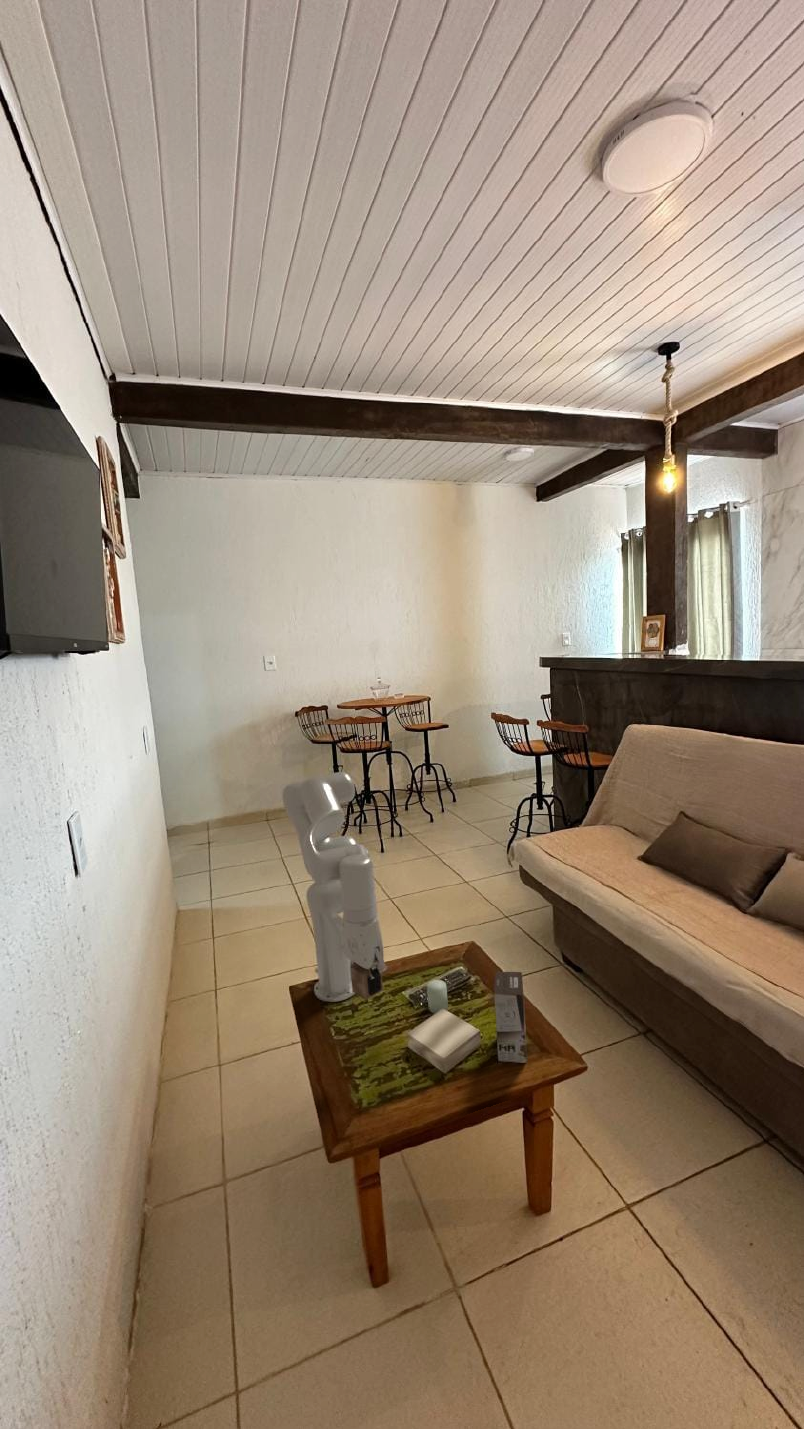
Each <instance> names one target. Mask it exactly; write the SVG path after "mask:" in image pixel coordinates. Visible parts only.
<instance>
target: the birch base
mask: <svg viewBox="0 0 804 1429" xmlns="http://www.w3.org/2000/svg"><path fill="white" fill-rule="evenodd" d="M406 1034H407V1046H408V1048H409V1049H410V1050H411V1051H412V1052H414V1053H416V1054H418V1056H420V1057H422V1058H423V1059H424V1060H426V1062H429V1063H430V1064H431V1065H432V1066H434V1067H435V1068H436V1069H438V1070H439V1071H441V1072H442V1073H444V1074H447V1073H448V1072H449V1071H450V1070H452V1069H453V1068H454V1067H455V1066H457V1065H458V1064H460V1062H462V1061H463V1060H465V1058H467V1057H469V1055H471V1054H472V1053H473V1052H474V1051H476V1049H478V1048H479V1047H481V1046H482V1038H481V1030H480V1029H478V1028H476V1027H475V1026H473V1025H472V1024H470V1023H468V1022H467V1021H465V1020H463V1019H461V1018H460V1017H458V1016H457V1015H455V1014H453V1013H452V1012H450V1011H448V1009H447V1010H445V1009H441V1010H440V1011H439V1012H437V1013H436V1014H435V1013H433V1015H431V1016H430V1017H428V1018H427V1019H425V1020H424V1021H423V1022H421V1023H420V1024H419V1025H417V1026H415V1027H414V1028H413V1029H411V1030H410V1031H408V1032H407V1033H406Z"/></svg>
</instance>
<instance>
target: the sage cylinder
mask: <svg viewBox="0 0 804 1429" xmlns="http://www.w3.org/2000/svg"><path fill="white" fill-rule="evenodd" d="M426 992H427V994H426V995H427V1003H428V1004H427V1005H428V1010H429V1012H431V1013H433V1014H436V1013H437V1012H439V1011H440V1010H441V1009H445V1010H447V1011H448V1008H449V1005H448V1004H449V1003H448V991H447V983H446V982H445V981H443V980H440V979H433V980H431V981H429V982H428V983H427V984H426Z"/></svg>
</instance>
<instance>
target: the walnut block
mask: <svg viewBox="0 0 804 1429" xmlns="http://www.w3.org/2000/svg"><path fill="white" fill-rule="evenodd" d="M375 969H376V967H375V965H374V966H372V971H374V970H375ZM350 972H351V982H352V991H353V992H354V993H355V994H356V995H357V996H359V997H360V998H361V999H363V1000H364V1001H367V1000H369V999H371V998H373V997H374V996H376V995H377V994H379V993H380V992H382V991H384V984H383V976H382V975H383V974H381V975H380V978H381V990H380V991H379V992H377V993H375V994H373V995H372V996H371V995H369V990H368V980H367V978H369V975H368V971H367V969H365V968H363V967H361V966H360V965H358V964H354V965H352V966H350Z"/></svg>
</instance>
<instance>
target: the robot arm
mask: <svg viewBox="0 0 804 1429" xmlns="http://www.w3.org/2000/svg"><path fill="white" fill-rule="evenodd" d="M281 794H282V796H281V797H282V803H283V806H284V809H285V812H286V815H287V816H288V818H289V820H290V822H291V823H292V825H293V827H294V829H295V831H296V833H297V837H298V842H299V847H300V850H301V856H302V860H303V864H304V867H305V870H306V872H307V874H308V875H310V877H311V879H312V880H313V882H314V883H312V884H311V885H309V887H308V888H307V889H306V894H305V895H306V902H307V903H306V904H307V906H308V910H309V913H310V919H311V922H312V923H311V924H312V927H313V928H312V931H313V937H314V947H315V955H316V956H315V957H316V966H317V967H315V969H314V973H316V974H317V976H318V980H319V981H318V980H317V981H318V982H317V981H316V983H315V985H314V988H313V990H314V991H313V992H314V995H315V996H316V998H318V999H319V1000H321V1001H323V1002H327V1003H336V1002H340V1001H345V1000H347V999H349V998H351V997H353V996H354V995H355V994H356V993H354V992H353V991H352V982H351V972H350V966H352V965H354V964H358V965H360V966H361V967H363V968H365V969H367V971H368V975H369V978H367V980H368V990H369V995H371V996H372V995H373V994H375V993H377V992H379V991H380V990H381V978H380V975H381V974H382V973H383V972H384V971H386V970H387V969H388V966H387V964H386V962H385V960H384V956H385V954H384V945H383V944H384V943H383V938H382V931H381V927H380V922H379V918H378V907H377V906H378V904H377V897H376V896H377V895H376V894H377V893H376V886H375V873H374V865H373V860H372V858H370V853H369V850H368V849H367V848H366V847H365V846H364V845H363V844H361V843H358V842H357V841H356V839H355V838H354V837H352V836H351V835H341V836H336V837H331V836H332V835H333V834H335V833H337V832H338V831H339V830H341V828H342V826H343V825H344V822H345V819H346V818H345V813H344V810H343V809H342V806H341V804H343V803H349V802H351V801H353V799H354V798H355V794H356V787H355V783H354V781H353V778H351V776H350V775H349V774H348V773H346V772H344V771H340V772H339V771H338V772H333V773H327V774H321V775H316V776H315V775H314V776H312V777H308V778H307V779H301V780H298V781H294V782H290V783H288V784H287V785H286V786H284V788H283V791H282V793H281ZM341 913H343V915H342V916H341V915H339V914H341ZM374 965H375V967H376V969H375V970H374V971H372V966H374ZM382 975H383V974H382ZM379 993H380V992H379ZM377 994H378V993H377ZM372 997H373V996H372Z"/></svg>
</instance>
